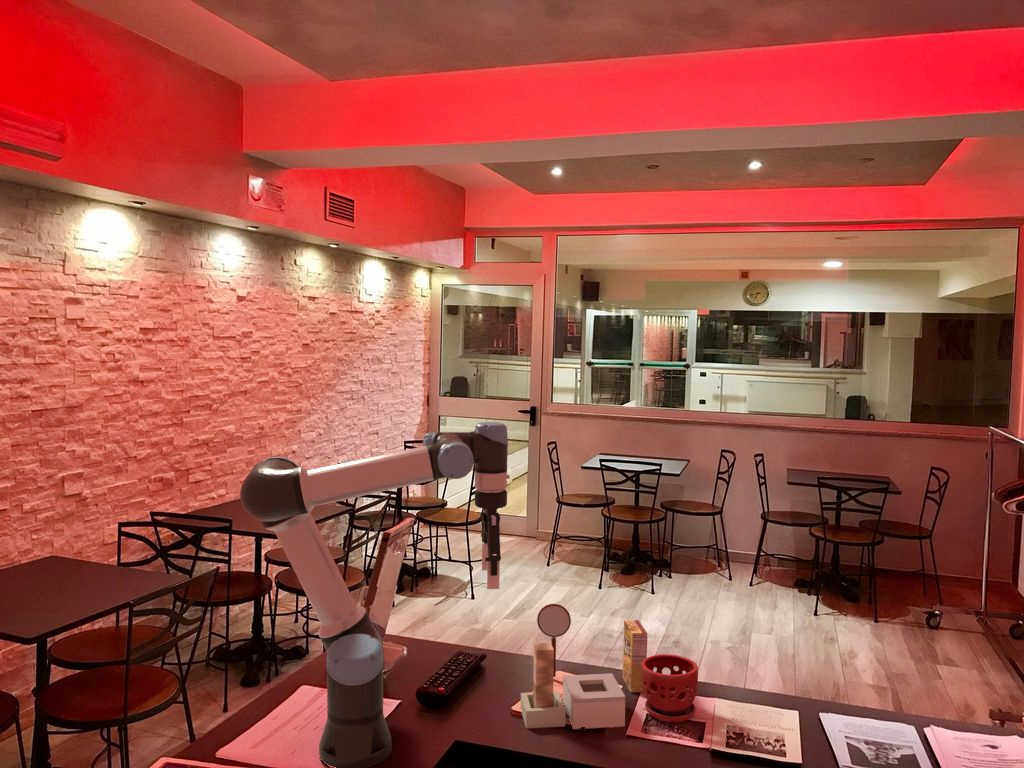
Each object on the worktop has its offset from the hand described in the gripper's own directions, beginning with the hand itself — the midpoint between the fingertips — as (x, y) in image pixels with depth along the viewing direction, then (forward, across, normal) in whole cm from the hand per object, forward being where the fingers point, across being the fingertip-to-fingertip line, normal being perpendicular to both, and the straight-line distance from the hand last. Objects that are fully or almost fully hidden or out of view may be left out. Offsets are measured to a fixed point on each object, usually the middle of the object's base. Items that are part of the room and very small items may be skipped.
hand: (490, 579), depth 183 cm
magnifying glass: (+32, +14, -18) cm, 39 cm away
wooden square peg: (+32, -5, -12) cm, 34 cm away
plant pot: (+32, -6, -42) cm, 53 cm away
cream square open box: (+32, -5, -12) cm, 34 cm away
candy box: (+32, +9, -38) cm, 50 cm away
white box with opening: (+32, -5, -24) cm, 40 cm away
